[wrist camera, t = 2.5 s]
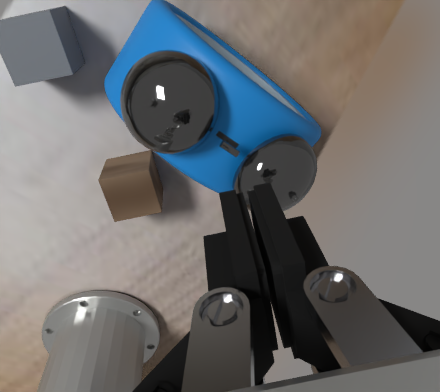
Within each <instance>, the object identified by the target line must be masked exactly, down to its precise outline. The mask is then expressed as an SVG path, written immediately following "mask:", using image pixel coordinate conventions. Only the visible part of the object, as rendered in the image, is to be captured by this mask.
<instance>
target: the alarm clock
mask: <svg viewBox="0 0 440 392" xmlns="http://www.w3.org/2000/svg"><path fill="white" fill-rule="evenodd" d="M104 85H105V92H106V95H107V97H108V99H109V101H110V103H111V105H112V106H113V108H114V109H115V111H116V112H117V114H118V115H119V116H120V118H121V119H122V120H123V121H124V122H125V124H126V127H127V128H128V130H129V131H130V133H131V134H132V135H133V137H134V138H135V139H136V140H137V141H138V142H140V143H141V144H142V145H144V146H145V147H146V148H148V149H150V150H153V151H154V152H156V153H157V154H158V155H159V156H161V157H162V158H163V159H164V160H166V161H167V162H168V163H170V164H171V165H172V166H174V167H175V168H177V169H178V170H179V171H181V172H182V173H184V174H185V175H187V176H189V177H190V178H192V179H193V180H195V181H197V182H198V183H200V184H202V185H204V186H205V187H207V188H209V189H211V190H213V191H215V192H217V193H220V192H225V191H230V190H236V194H237V193H242V192H243V195H244V198H245V202H246V205H247V209H248V210H250V211H251V208H250V203H249V197H248V191H252V190H254V189H253V186H254V185H259V184H264V183H269V182H270V183H271V185H272V188H273V190H274V192H275V195H276V197H277V199H278V201H279V204H280V206H281V208H282V211H285V210H287V209H289V208H291V207H293V206H294V205H296V204H297V203H298V202H300V201H301V200H302V199H303V198H304V197H305V195H306V194H307V193H308V191H309V190H310V188H311V187H312V185H313V183H314V180H315V176H316V172H317V160H316V156H315V153H314V151H313V149H312V147H313V146H314V144H315V143H316V142H317V141H318V140H319V138H320V137H321V128H320V126H319V125H318V123H317V122H316V121H315V120H314V119H313V118H312V117H311V116H310V115H309V114H308V113H307V112H306V111H305V110H304V109H303V108H302V107H301V106H300V105H299V104H298V103H297V102H296V101H295V100H294V99H292V98H291V97H290V96H289V95H288V94H287V93H286V92H285V91H283V90H282V89H281V88H280V87H279V86H278V85H276V84H275V83H274V82H273V81H272V80H271V79H269V78H268V77H267V76H266V75H265V74H263V73H262V72H261V71H260V70H259V69H257V68H256V67H255V66H254V65H252V64H251V63H250V62H249V61H248V60H246V59H245V58H244V57H243V56H241V55H240V54H239V53H238V52H236V51H235V50H234V49H233V48H231V47H230V46H229V45H228V44H226V43H225V42H224V41H222V40H221V39H220V38H218V37H217V36H216V35H215V34H213V33H212V32H211V31H209V30H208V29H207V28H205V27H204V26H203V25H201V24H200V23H199V22H197V21H196V20H194V19H193V18H192V17H190V16H189V15H187V14H186V13H185V12H183V11H182V10H180V9H179V8H177V7H175V6H174V5H172V4H171V3H169V2H167V1H165V0H152V1H151V2H150V3H149V5H148V6H147V8H146V10H145V11H144V13H143V15H142V16H141V18H140V20H139V21H138V23H137V25H136V26H135V28H134V30H133V32H132V33H131V35H130V37H129V38H128V40H127V42H126V43H125V45H124V47H123V48H122V50H121V52H120V53H119V55H118V57H117V58H116V60H115V62H114V64H113V65H112V67H111V69H110V70H109V72H108V74H107V75H106V78H105V82H104Z"/></svg>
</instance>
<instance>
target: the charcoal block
mask: <svg viewBox="0 0 440 392" xmlns="http://www.w3.org/2000/svg"><path fill="white" fill-rule="evenodd" d="M0 54H1V56H2V58H3V60H4V63H5V65H6V67H7V69H8V71H9V74H10V76H11V78H12V80H13V83H14V85H15V86H20V85H25V84H30V83H35V82H40V81H44V80H49V79H54V78H59V77H64V76H68V75H73V74H74V73H75V72H76V71H77V70H78V69H79V68H81V67H82V66H83V65H84V64H85V61H84V58H83V56H82V53H81V50H80V47H79V44H78V41H77V38H76V35H75V32H74V30H73V27H72V24H71V21H70V18H69V15H68V12H67V9H66V6H63V7H58V8H53V9H48V10H44V11H39V12H34V13H29V14H25V15H20V16H15V17H10V18H6V19H2V20H0Z"/></svg>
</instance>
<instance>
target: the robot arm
mask: <svg viewBox="0 0 440 392" xmlns="http://www.w3.org/2000/svg"><path fill="white" fill-rule="evenodd" d="M253 189H254V190H252V191H248V197H249V203H250V208H251V214H252V220H253V226H254V229H253V226H252V222H251V219H250V215H249V212H248V209H247V205H246V202H245V198H244V195H243V192H242V193H237V194H236V190H230V191H225V192H220V193H219V195H220V200H221V206H222V211H223V217H224V222H225V227H226V232H222V233H217V234H212V235H207V236H204V248H205V259H206V269H207V280H208V291H209V292H207V293H205V294H204V295H203V296H202V297H200V298H199V300H198V301H197V302H196V304H195V307H194V310H193V315H192V322H191V329H190V331H189V332H188V334H187V335H186V336H185V337H184V338H183V339H182V340H181V341H180V342H179V343H178V344H177V345H176V346H175V347H174V348H173V349H172V350H171V351H170V352H169V353H168V354H167V355H166V357H165V358H164V359H163V360H162V361H161V362H160V363H159V364H158V365H157V366H156V367H155V368H154V369H153V370H152V371H151V372H150V373H149V374H148V375H147V376H146V377H145V378H144V380H143V381H142V371H143V364H144V363H145V362H147V361H148V360H149V359H150V358H151V357H152V356H153V354H154V353H155V351H156V350H157V347H158V344H159V338H160V328H159V323H158V321H157V318H156V317H155V315H154V314H153V312H152V311H151V310H150V309H149V308H148V307H147V306H146V305H145V304H143V303H142V302H140V301H138V300H137V299H135V298H132V297H130V296H128V295H125V294H121V293H117V292H111V291H88V292H82V293H78V294H75V295H72V296H69V297H67V298H66V299H64V300H62V301H60V302H59V303H58V304H56V305H55V306H54V307H53V308H52V309H51V311H50V312H49V313H48V315H47V317H46V319H45V322H44V324H43V327H42V341H43V344H44V347H45V348H46V350H47V351H48V353H49V357H48V360H47V363H46V366H45V369H44V372H43V375H42V377H41V380H40V383H39V386H38V389H37V392H440V321H438V320H435V319H433V318H430V317H427V316H424V315H422V314H419V313H416V312H414V311H411V310H408V309H405V308H403V307H400V306H397V305H395V304H392V303H389V302H387V301H384V300H381V299H378V298H377V297H376V296H375V295H374V294H373V293H372V291H371V290H370V289H369V288H368V287H367V286H366V284H365V283H364V282H363V281H362V280H361V279H360V278H359V276H357V275H356V274H355V273H354V272H353V271H350V270H348V269H346V268H343V267H338V266H329V265H328V263H327V261H326V259H325V257H324V255H323V253H322V251H321V249H320V247H319V245H318V243H317V242H316V240H315V237H314V236H313V234H312V232H311V230H310V228H309V226H308V224H307V222H306V220H305V219H304V217H303V216H300V217H295V218H290V219H286V217H285V215H284V213H283V211H282V208H281V206H280V204H279V201H278V199H277V197H276V195H275V192H274V190H273V188H272V185H271V183H270V182H269V183H264V184H259V185H254V186H253ZM270 300H271V301H270ZM271 304H272V307H273V311H274V315H275V318H276V322H277V325H278V329H279V332H280V336H281V340H282V343H283V347H284V348H288V347H291V349H292V352H293V355H294V359H296V358H300V359H302V360H303V361H305V362H307V363H309V364H311V368H312V371H313V374H312V375H307V376H302V377H297V378H292V379H288V380H282V381H277V382H272V383H267V384H265V379H264V376H265V374H266V373H267V372H268V370H269V369H270V367H271V366H272V365H273V363H274V357H273V353H272V351H274V350H278V344H277V338H276V332H275V326H274V319H273V314H272V307H271Z"/></svg>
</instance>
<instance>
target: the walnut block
mask: <svg viewBox="0 0 440 392" xmlns="http://www.w3.org/2000/svg"><path fill="white" fill-rule="evenodd" d="M98 181H99V183H100V186H101V188H102V191H103V193H104V196H105V198H106V201H107V203H108V206H109V209H110V211H111V214H112V216H113V219H114V221H115V222H117V221H121V220H126V219H131V218H136V217H141V216H146V215H150V214H155V213H160V212H162V200H163V187H162V184H161V180H160V177H159V174H158V170H157V167H156V163H155V160H154V157H153V153H152V150H149V151H145V152H140V153H135V154H130V155H126V156H121V157H116V158H111V159H106V162H105V165H104V167H103V170H102V172H101V175H100V178H99V180H98Z"/></svg>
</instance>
